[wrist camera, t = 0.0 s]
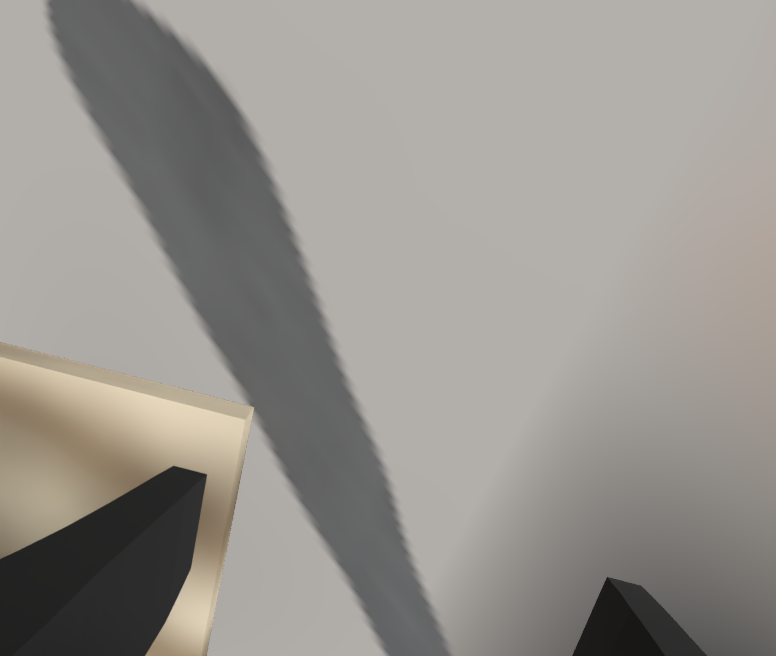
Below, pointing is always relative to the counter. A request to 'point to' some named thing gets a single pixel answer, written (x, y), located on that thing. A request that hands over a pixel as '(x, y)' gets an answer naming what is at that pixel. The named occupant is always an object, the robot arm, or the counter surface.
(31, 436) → the board
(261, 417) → the counter surface
